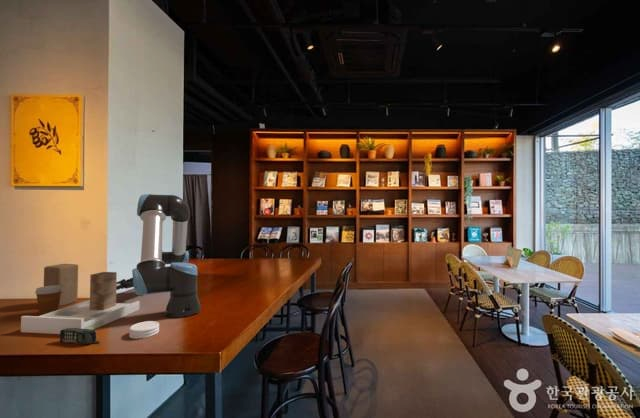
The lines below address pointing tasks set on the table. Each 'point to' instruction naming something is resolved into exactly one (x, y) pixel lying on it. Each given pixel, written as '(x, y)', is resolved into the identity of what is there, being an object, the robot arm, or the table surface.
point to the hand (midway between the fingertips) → (108, 289)
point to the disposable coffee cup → (48, 298)
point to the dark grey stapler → (78, 336)
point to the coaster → (144, 329)
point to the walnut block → (103, 290)
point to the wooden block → (63, 281)
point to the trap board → (75, 318)
